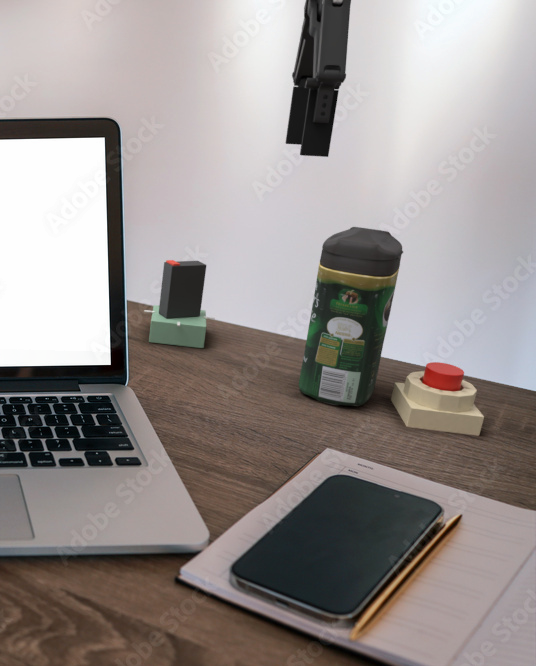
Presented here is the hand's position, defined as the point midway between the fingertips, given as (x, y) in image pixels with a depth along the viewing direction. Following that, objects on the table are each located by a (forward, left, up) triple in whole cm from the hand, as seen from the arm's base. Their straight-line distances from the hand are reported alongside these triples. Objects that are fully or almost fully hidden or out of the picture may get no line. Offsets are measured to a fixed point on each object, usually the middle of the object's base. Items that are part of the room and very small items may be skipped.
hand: (305, 150), depth 86 cm
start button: (-16, +10, -22) cm, 29 cm away
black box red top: (+11, -7, -23) cm, 26 cm away
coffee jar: (-7, +6, -26) cm, 28 cm away
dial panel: (+11, -7, -26) cm, 29 cm away
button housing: (-16, +10, -26) cm, 32 cm away
